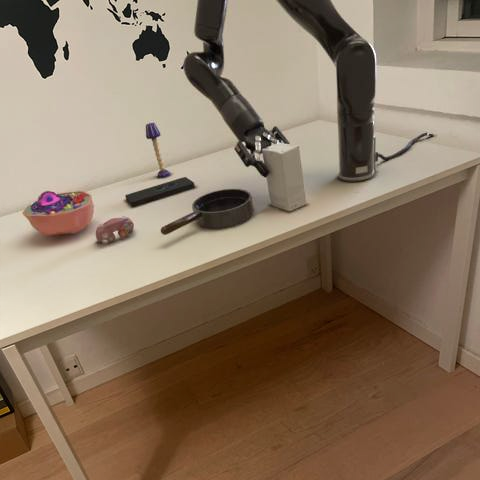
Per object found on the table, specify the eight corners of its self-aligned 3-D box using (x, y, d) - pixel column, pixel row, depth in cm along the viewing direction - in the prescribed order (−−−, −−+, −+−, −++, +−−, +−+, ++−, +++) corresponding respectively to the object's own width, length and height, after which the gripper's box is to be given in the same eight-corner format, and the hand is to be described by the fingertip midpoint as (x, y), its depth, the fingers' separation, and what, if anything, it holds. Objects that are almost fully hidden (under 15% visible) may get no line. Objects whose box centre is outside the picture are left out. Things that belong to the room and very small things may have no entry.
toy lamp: (154, 178, 159) (140, 126, 149) (160, 173, 162) (147, 122, 153) (166, 178, 157) (153, 125, 148) (173, 172, 160) (160, 121, 151)
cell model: (70, 250, 121) (53, 208, 115) (22, 241, 131) (4, 202, 125) (116, 221, 132) (103, 182, 126) (68, 215, 142) (54, 178, 136)
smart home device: (194, 182, 144) (131, 202, 138) (195, 187, 145) (133, 207, 139) (185, 176, 150) (124, 194, 145) (186, 181, 151) (126, 200, 146)
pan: (227, 201, 132) (224, 185, 129) (266, 211, 122) (263, 194, 119) (184, 222, 124) (180, 205, 122) (222, 234, 114) (218, 217, 112)
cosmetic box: (306, 205, 121) (302, 145, 112) (288, 213, 119) (281, 152, 110) (286, 197, 127) (280, 140, 119) (268, 205, 125) (260, 147, 116)
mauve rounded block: (101, 251, 121) (96, 232, 115) (95, 239, 123) (89, 220, 117) (138, 238, 124) (135, 219, 118) (131, 226, 126) (128, 207, 120)
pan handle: (198, 216, 118) (197, 208, 117) (203, 217, 117) (202, 210, 116) (160, 235, 113) (157, 227, 111) (164, 237, 111) (162, 229, 110)
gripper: (225, 115, 113) (265, 169, 112) (267, 100, 120) (305, 151, 119) (215, 136, 119) (253, 188, 118) (255, 121, 126) (291, 169, 125)
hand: (279, 169), depth 119 cm, fingers open, 8 cm apart
